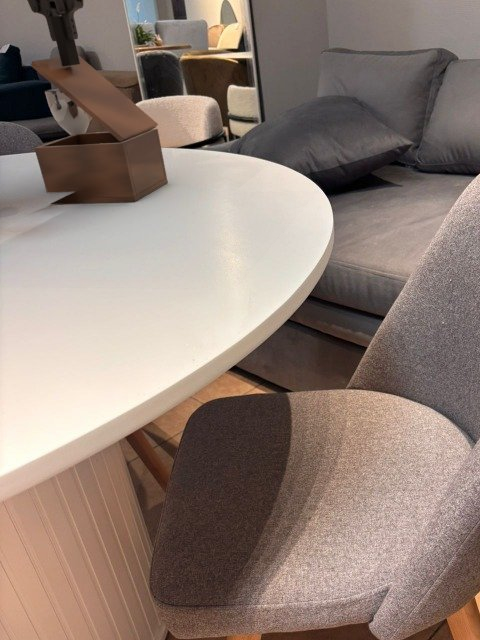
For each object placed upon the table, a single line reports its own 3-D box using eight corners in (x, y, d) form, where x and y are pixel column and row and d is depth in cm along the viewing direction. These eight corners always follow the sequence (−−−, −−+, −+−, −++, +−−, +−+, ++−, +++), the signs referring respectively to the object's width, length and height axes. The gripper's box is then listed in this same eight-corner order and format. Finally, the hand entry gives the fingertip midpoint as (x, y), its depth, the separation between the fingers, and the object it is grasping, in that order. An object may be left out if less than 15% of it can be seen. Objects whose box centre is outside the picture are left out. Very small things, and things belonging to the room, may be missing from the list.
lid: (30, 65, 94) (32, 60, 94) (75, 58, 104) (77, 54, 104) (120, 142, 97) (122, 138, 96) (156, 127, 107) (158, 124, 107)
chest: (50, 204, 105) (34, 148, 101) (89, 185, 116) (76, 133, 111) (135, 201, 101) (122, 143, 97) (167, 182, 112) (157, 128, 107)
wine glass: (90, 166, 132) (70, 86, 124) (116, 168, 127) (97, 85, 120) (58, 175, 126) (36, 92, 119) (84, 177, 122) (62, 91, 114)
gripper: (-34, -128, 85) (20, 70, 97) (50, -143, 82) (96, 64, 94) (1, -120, 91) (48, 65, 103) (81, -133, 88) (120, 59, 100)
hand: (71, 64), depth 99 cm, fingers closed
